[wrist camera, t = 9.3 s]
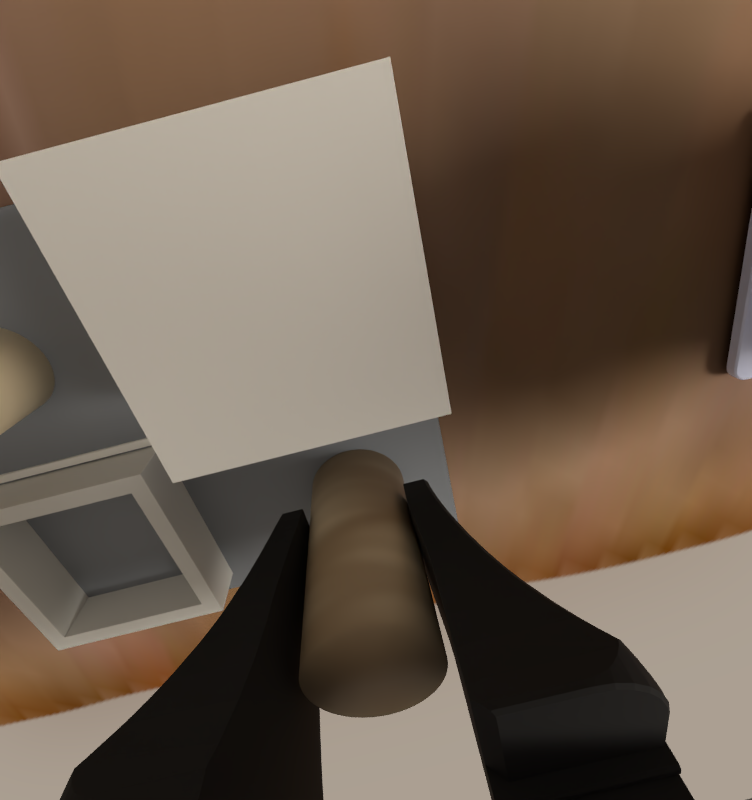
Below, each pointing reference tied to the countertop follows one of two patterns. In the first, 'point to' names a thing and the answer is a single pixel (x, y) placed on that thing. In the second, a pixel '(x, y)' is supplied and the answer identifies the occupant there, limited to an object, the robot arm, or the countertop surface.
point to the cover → (248, 269)
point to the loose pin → (366, 594)
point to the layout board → (127, 480)
